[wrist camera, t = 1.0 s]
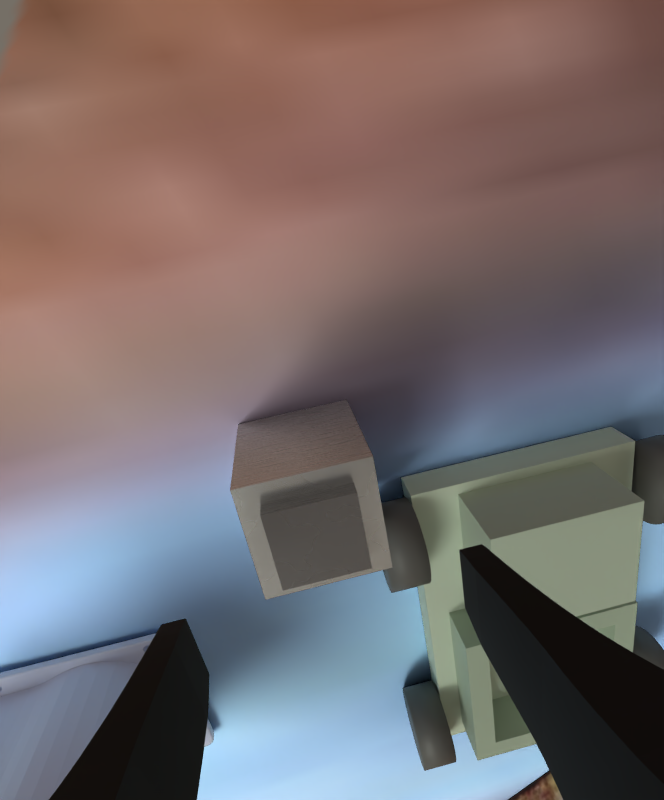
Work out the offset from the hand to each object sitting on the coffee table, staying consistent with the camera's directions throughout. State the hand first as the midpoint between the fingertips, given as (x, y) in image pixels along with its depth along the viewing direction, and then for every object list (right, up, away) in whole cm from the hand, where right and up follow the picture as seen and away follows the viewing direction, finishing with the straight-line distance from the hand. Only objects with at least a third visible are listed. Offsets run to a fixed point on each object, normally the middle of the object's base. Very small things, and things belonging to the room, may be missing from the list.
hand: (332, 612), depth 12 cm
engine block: (-1, +3, +8) cm, 8 cm away
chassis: (+9, -4, +12) cm, 16 cm away
